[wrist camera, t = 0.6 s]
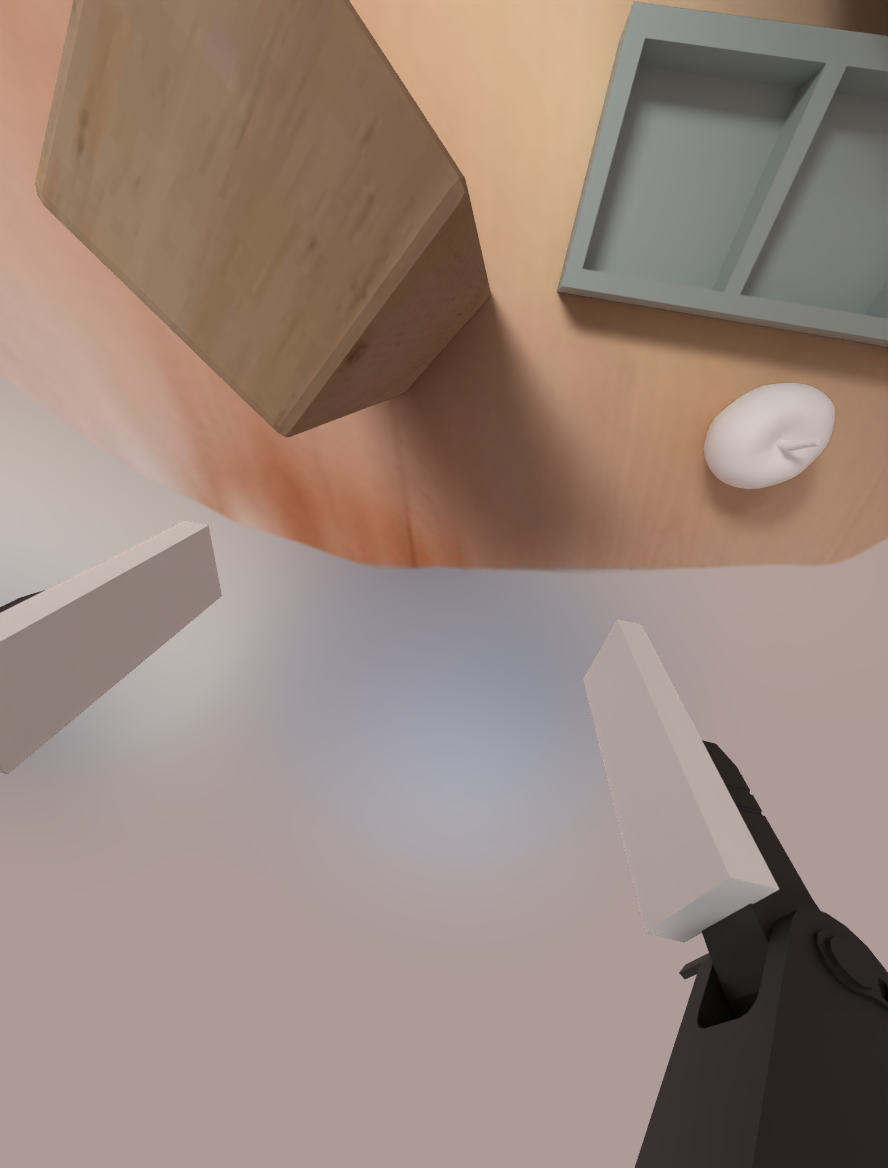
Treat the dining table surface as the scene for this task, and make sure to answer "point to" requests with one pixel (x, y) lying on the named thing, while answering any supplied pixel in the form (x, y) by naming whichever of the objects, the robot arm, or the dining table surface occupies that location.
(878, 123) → the grey-green compartment tray
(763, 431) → the plain white apple
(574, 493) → the dining table surface
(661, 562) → the dining table surface
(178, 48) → the wooden block
